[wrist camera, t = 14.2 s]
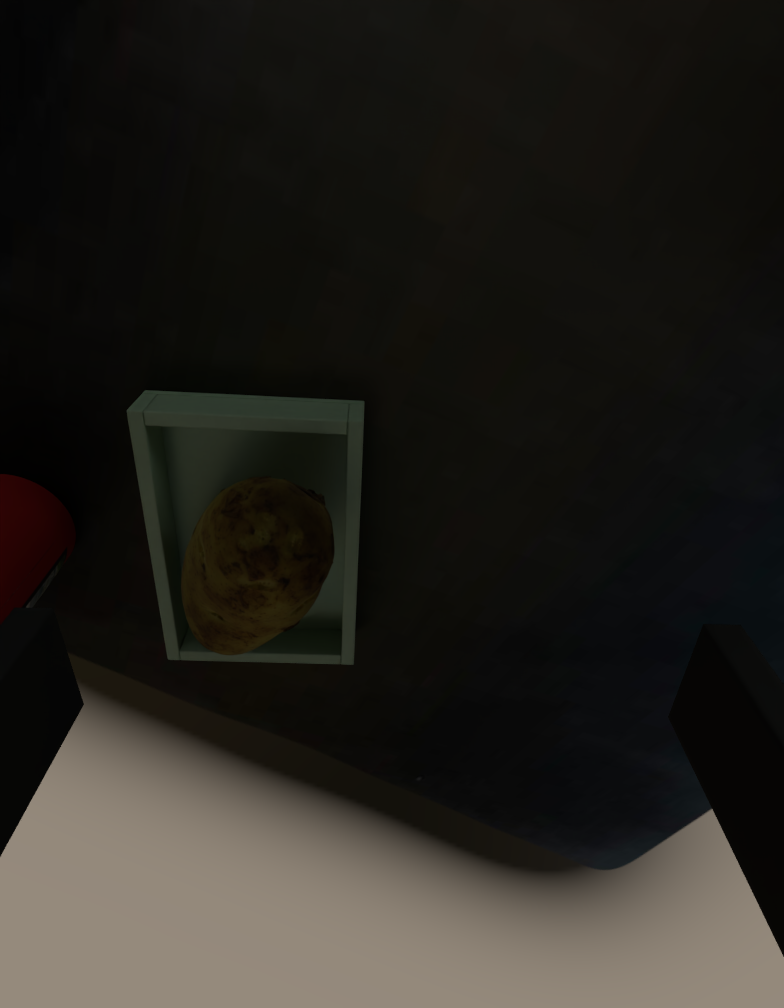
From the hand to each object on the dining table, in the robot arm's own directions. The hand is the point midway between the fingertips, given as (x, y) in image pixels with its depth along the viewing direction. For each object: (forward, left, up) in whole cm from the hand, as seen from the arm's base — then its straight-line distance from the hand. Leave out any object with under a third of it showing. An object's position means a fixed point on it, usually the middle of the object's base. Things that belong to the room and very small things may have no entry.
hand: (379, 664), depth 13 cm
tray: (+6, +11, -22) cm, 25 cm away
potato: (+6, +11, -22) cm, 25 cm away
